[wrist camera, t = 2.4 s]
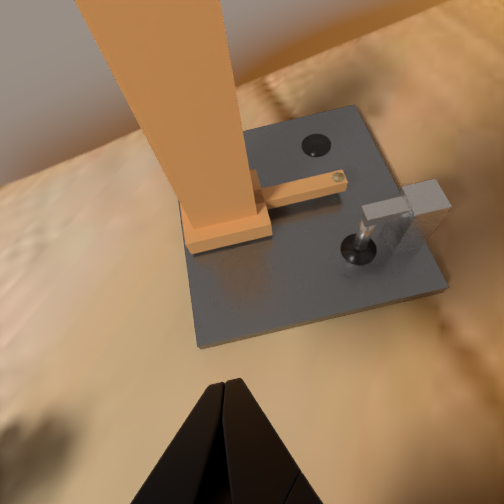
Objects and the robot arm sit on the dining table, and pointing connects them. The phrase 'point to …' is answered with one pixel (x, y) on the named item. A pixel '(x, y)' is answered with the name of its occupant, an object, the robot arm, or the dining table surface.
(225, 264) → the plate
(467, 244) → the dining table surface
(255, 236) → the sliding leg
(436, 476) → the dining table surface
